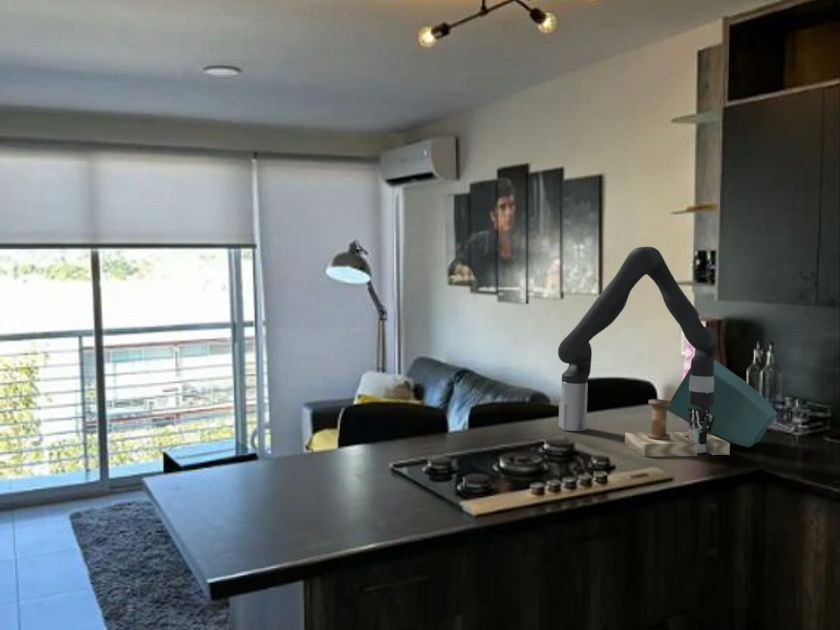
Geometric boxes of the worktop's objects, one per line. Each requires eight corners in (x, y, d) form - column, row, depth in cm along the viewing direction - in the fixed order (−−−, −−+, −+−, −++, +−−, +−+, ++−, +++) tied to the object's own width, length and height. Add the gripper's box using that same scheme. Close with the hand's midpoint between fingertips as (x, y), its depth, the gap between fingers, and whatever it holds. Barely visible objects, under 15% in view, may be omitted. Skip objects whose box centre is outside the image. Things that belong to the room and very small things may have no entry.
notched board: (644, 456, 235) (644, 443, 234) (624, 444, 251) (625, 432, 250) (729, 455, 238) (729, 443, 238) (704, 443, 254) (705, 431, 253)
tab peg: (706, 451, 240) (702, 427, 239) (696, 454, 239) (692, 429, 239) (701, 449, 243) (697, 425, 243) (691, 451, 243) (687, 427, 242)
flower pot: (772, 407, 237) (693, 360, 252) (738, 459, 243) (664, 409, 258) (787, 402, 252) (713, 358, 268) (755, 451, 258) (684, 404, 274)
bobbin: (652, 440, 239) (654, 403, 239) (643, 435, 246) (645, 399, 246) (673, 440, 240) (675, 403, 239) (664, 435, 247) (665, 399, 246)
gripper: (680, 386, 247) (678, 438, 248) (701, 393, 233) (699, 448, 234) (702, 386, 248) (700, 437, 249) (724, 393, 233) (722, 447, 235)
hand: (699, 442), depth 241 cm, fingers closed on tab peg, 3 cm apart
